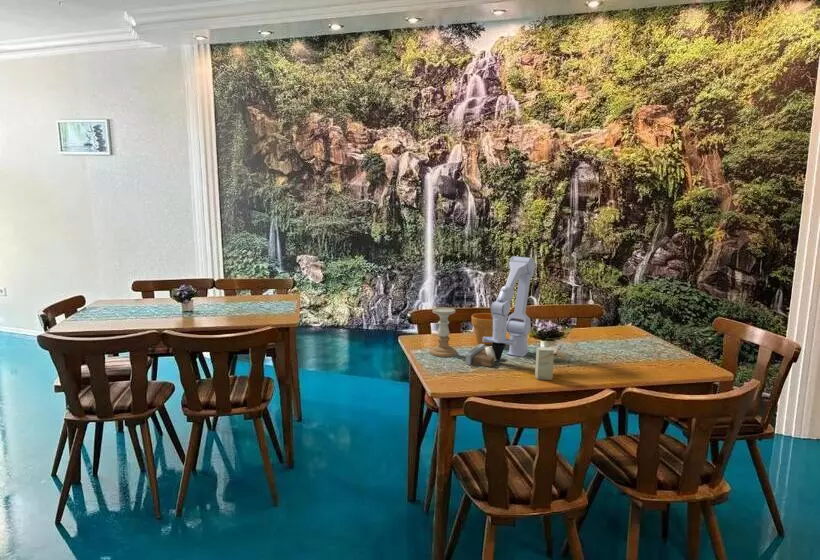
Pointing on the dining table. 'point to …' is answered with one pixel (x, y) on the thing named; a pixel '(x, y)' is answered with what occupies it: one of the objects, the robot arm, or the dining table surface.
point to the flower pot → (483, 326)
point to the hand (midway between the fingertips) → (498, 359)
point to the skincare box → (544, 363)
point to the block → (483, 359)
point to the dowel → (490, 352)
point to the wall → (473, 353)
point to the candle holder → (443, 334)
